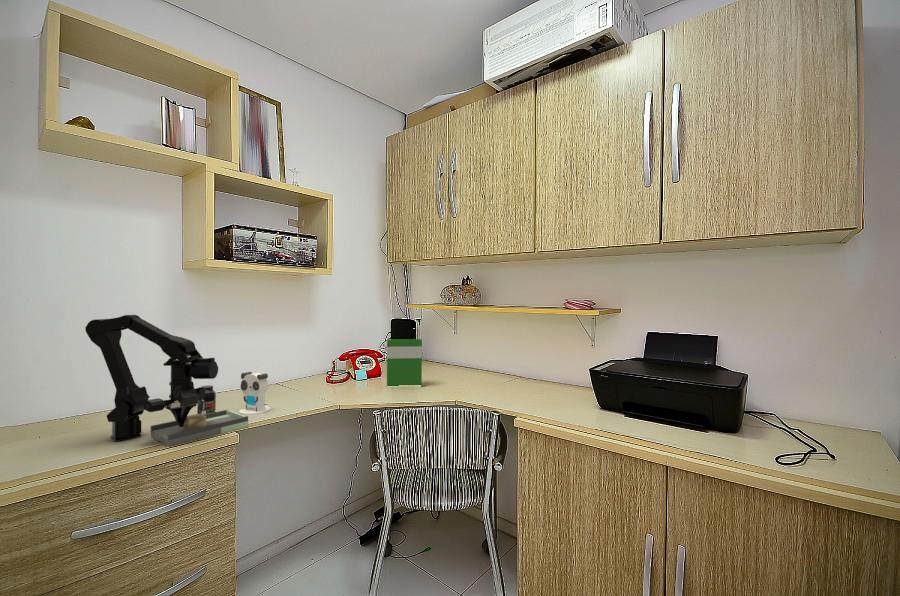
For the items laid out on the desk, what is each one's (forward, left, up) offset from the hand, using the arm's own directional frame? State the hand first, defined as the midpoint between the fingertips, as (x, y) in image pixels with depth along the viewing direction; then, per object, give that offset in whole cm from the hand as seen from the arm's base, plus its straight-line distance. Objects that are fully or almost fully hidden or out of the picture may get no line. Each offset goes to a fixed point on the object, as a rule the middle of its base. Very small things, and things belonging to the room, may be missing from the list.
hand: (180, 427), depth 129 cm
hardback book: (+100, -6, -3) cm, 100 cm away
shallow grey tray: (+6, 0, -3) cm, 7 cm away
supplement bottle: (+15, +18, -3) cm, 24 cm away
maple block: (+4, 0, -1) cm, 4 cm away
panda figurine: (+30, +11, -3) cm, 32 cm away
